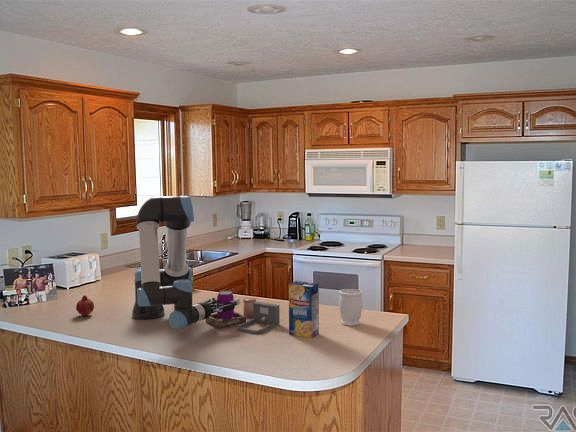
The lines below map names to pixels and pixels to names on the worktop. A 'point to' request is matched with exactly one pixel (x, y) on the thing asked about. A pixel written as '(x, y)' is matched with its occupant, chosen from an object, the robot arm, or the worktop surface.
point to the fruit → (85, 306)
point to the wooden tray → (220, 323)
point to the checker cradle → (262, 317)
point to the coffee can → (191, 270)
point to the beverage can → (225, 298)
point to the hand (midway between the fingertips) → (231, 300)
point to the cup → (248, 307)
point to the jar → (350, 306)
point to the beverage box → (304, 309)
